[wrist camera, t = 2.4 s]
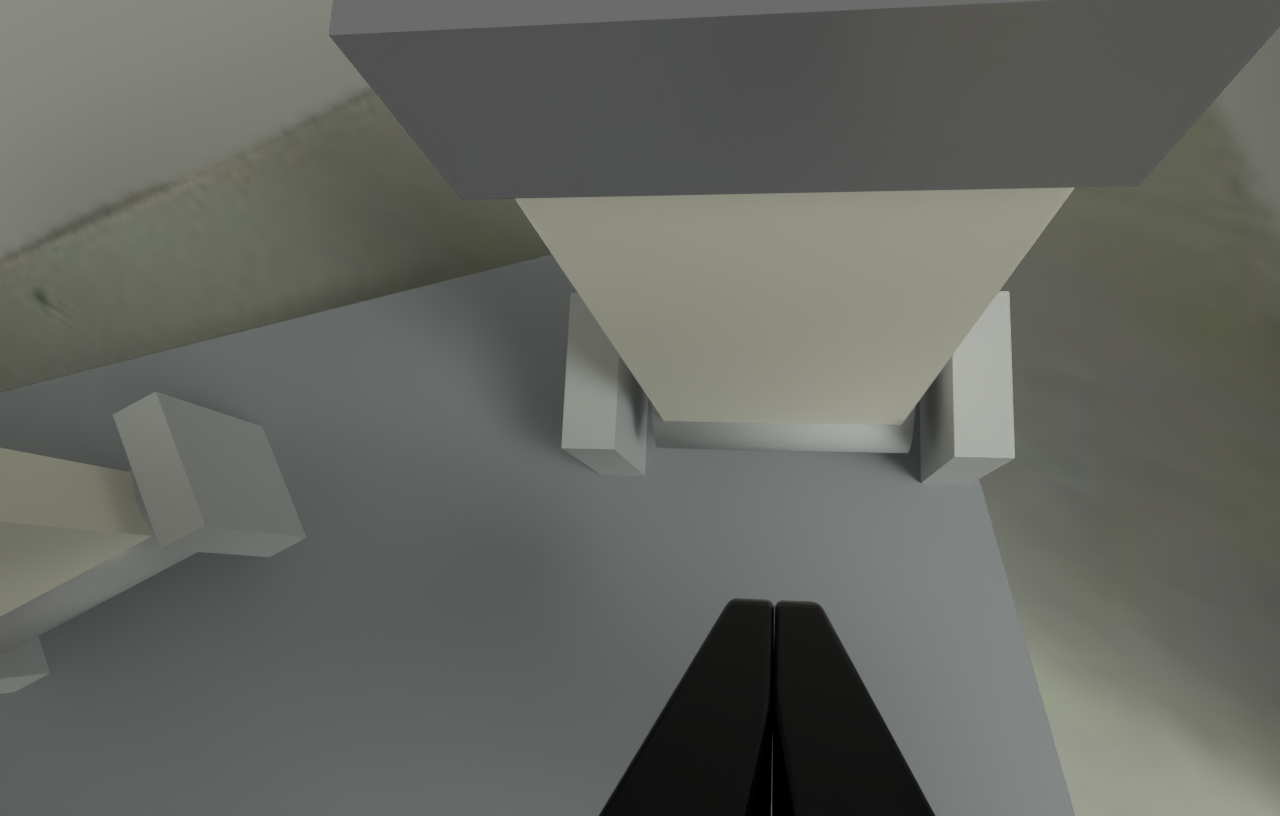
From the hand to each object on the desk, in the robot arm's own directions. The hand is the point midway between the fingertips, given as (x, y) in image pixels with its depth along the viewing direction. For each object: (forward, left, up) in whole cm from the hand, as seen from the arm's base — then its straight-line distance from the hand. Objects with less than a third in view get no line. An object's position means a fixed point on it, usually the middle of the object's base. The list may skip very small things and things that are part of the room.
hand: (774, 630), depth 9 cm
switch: (+3, -1, -6) cm, 7 cm away
